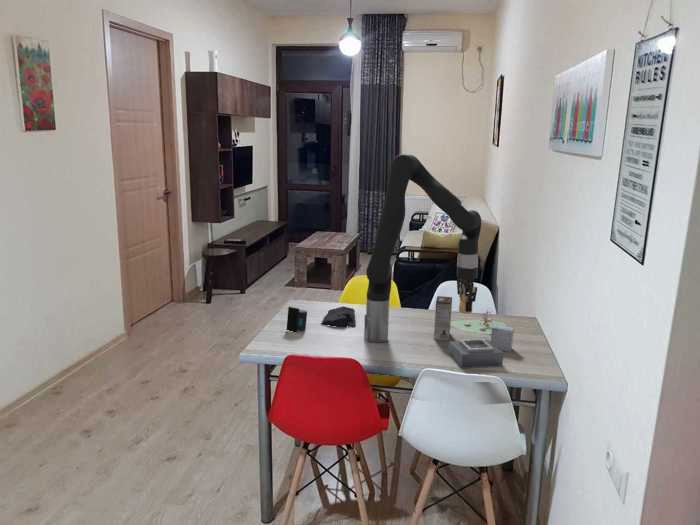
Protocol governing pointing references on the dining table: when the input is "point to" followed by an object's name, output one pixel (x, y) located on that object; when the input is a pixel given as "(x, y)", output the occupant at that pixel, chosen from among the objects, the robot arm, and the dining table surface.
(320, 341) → the dining table surface
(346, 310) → the dark slate chunk
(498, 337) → the medicine box
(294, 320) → the speaker
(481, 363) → the block
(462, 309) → the tan stepped cylinder
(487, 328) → the plant
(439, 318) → the coffee box
